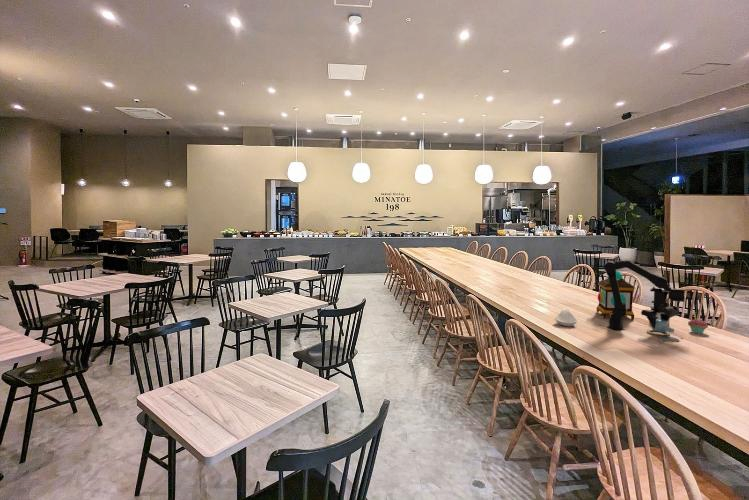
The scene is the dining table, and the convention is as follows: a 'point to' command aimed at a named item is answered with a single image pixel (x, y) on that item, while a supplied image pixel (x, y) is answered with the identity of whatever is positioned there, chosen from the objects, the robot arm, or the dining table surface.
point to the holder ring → (657, 334)
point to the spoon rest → (566, 318)
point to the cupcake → (697, 325)
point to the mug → (662, 326)
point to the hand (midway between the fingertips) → (658, 327)
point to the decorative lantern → (607, 296)
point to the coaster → (668, 338)
